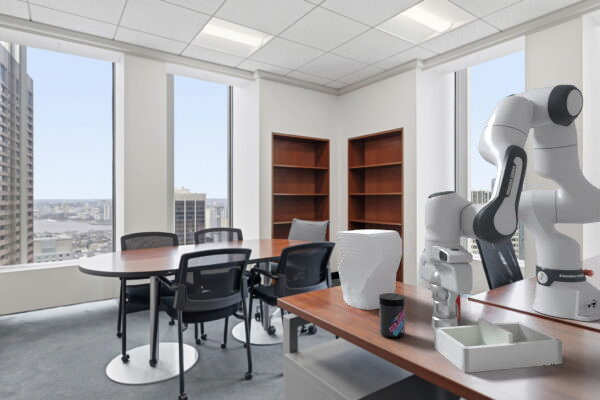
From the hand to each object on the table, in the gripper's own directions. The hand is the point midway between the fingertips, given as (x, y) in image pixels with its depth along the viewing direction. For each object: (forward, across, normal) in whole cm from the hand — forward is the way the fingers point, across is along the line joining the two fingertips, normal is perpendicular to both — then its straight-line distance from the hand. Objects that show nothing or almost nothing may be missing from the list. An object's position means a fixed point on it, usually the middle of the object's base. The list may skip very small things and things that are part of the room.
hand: (443, 302), depth 92 cm
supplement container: (+9, -2, -14) cm, 16 cm away
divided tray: (+8, +14, +5) cm, 17 cm away
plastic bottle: (+9, 0, 0) cm, 9 cm away
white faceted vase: (+9, -30, -8) cm, 32 cm away
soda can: (+9, -10, +8) cm, 15 cm away
